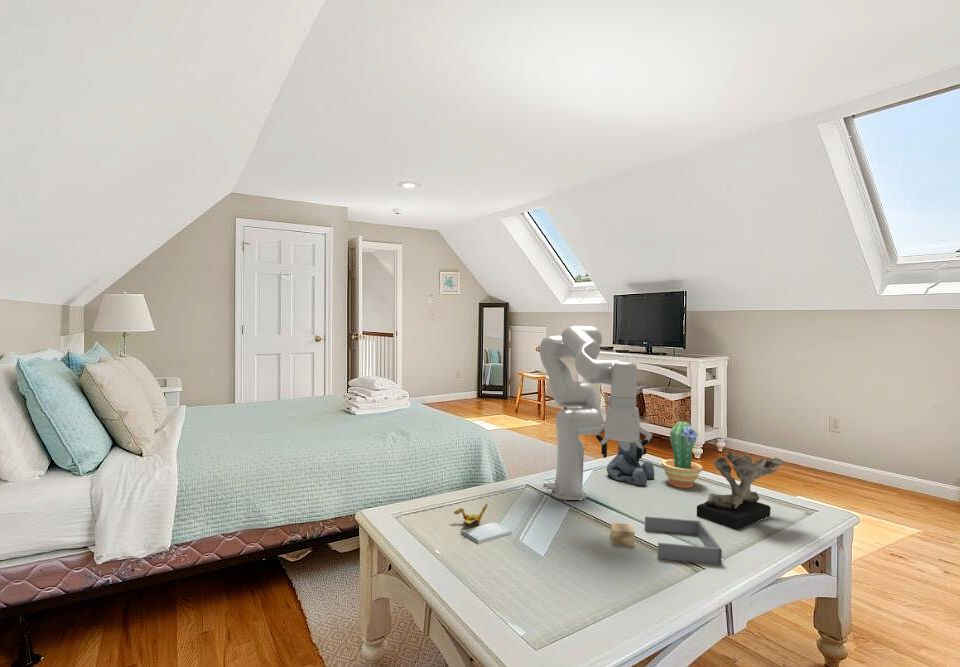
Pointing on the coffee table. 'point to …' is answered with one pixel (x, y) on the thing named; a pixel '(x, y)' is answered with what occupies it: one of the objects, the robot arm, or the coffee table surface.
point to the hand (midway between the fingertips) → (621, 458)
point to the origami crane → (471, 517)
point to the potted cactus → (682, 457)
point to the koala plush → (630, 465)
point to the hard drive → (486, 532)
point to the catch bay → (685, 552)
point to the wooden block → (622, 534)
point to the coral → (738, 493)
